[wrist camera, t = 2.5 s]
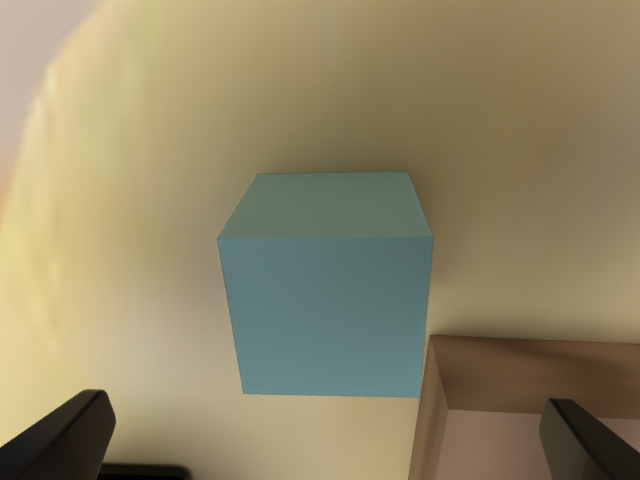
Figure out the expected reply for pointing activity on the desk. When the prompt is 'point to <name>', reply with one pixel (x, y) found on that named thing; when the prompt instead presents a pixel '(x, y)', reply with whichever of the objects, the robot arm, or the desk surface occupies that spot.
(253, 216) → the teal cube
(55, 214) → the desk surface
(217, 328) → the desk surface
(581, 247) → the desk surface
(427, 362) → the walnut block
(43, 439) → the robot arm
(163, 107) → the desk surface
